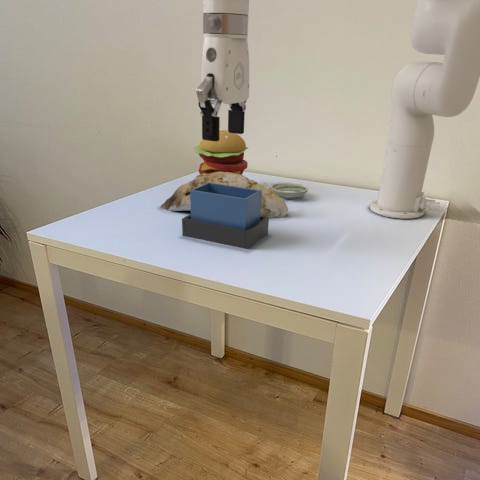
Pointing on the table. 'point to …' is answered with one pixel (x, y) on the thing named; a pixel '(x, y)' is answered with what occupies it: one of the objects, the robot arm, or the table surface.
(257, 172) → the table surface
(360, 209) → the table surface
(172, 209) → the rock
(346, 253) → the table surface
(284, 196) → the saucer
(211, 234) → the charcoal bin
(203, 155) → the hamburger
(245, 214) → the blue bin
